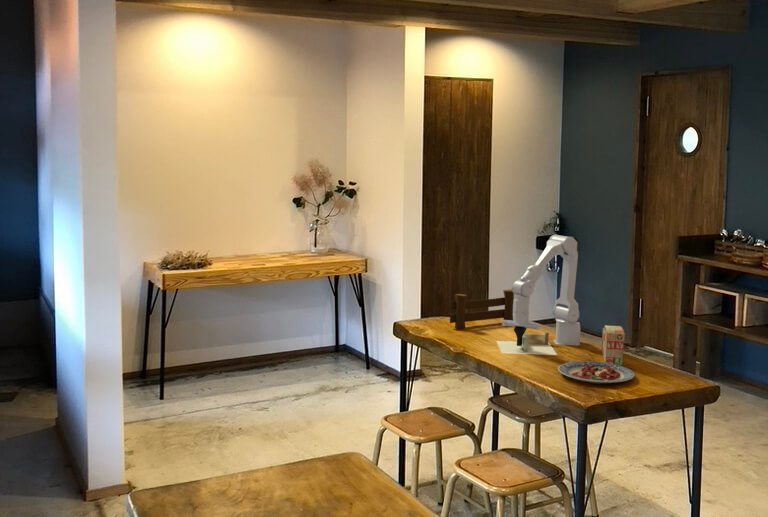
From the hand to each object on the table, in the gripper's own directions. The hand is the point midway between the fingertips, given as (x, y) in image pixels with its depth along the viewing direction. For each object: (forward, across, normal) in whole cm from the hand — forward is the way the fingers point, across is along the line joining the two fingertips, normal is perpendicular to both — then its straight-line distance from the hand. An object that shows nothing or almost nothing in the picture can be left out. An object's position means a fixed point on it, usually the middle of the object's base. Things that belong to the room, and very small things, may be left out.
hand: (519, 345), depth 335 cm
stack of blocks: (+2, +34, +6) cm, 35 cm away
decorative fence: (+2, -27, +33) cm, 43 cm away
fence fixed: (+1, +3, +10) cm, 10 cm away
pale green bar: (+1, +1, +1) cm, 2 cm away
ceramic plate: (+2, +35, -23) cm, 42 cm away
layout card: (+2, +2, +2) cm, 3 cm away
